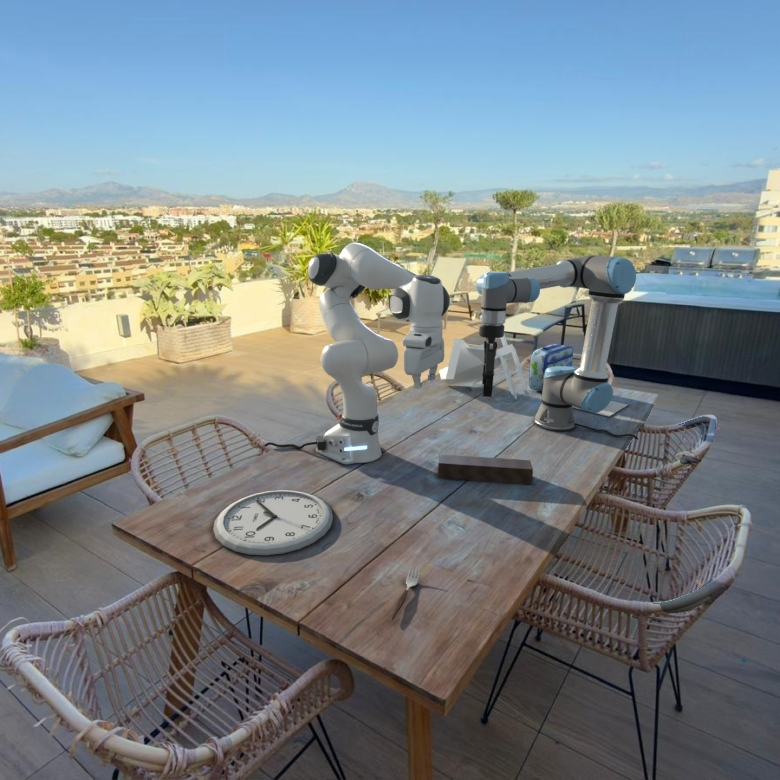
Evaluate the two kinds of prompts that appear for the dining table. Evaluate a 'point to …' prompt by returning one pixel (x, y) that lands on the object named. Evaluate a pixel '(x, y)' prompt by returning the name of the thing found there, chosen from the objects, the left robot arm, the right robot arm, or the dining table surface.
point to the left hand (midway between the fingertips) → (424, 383)
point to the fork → (410, 583)
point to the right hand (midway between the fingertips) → (486, 390)
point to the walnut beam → (485, 469)
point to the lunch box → (548, 362)
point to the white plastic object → (480, 364)
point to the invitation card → (610, 408)
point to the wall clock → (273, 522)
